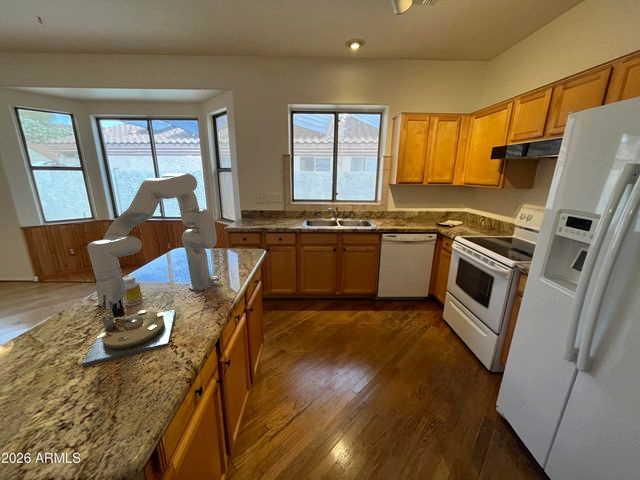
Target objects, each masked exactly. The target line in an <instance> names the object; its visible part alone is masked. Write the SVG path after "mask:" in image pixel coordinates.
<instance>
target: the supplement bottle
mask: <svg viewBox="0 0 640 480" xmlns="http://www.w3.org/2000/svg"><path fill="white" fill-rule="evenodd" d="M122 278H123V280H124V283H125V287H126V294H125V295H124V297H123V299H124V304H125V305H126V306H128V307H134V306H137V305H139V304H141V303H142V302H143V296H142V292H141V286H140V283H139V281H137V280H136V277H135V276H133V275H132V276H131V275H129V276H127V277H122Z"/></svg>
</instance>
